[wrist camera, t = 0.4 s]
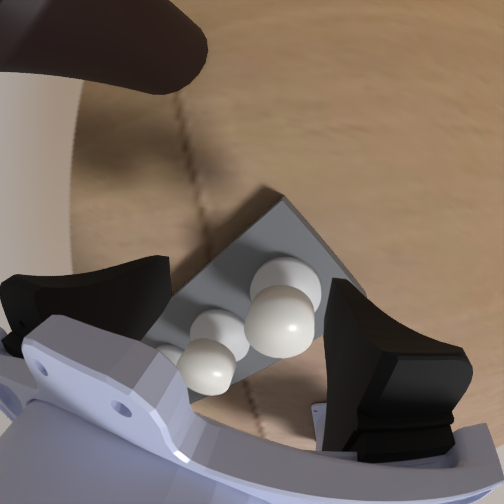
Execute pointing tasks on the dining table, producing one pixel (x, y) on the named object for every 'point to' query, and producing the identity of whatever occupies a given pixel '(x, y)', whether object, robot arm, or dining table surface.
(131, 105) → the dining table surface
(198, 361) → the knob
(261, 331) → the knob
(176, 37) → the bottle
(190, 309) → the knob panel
